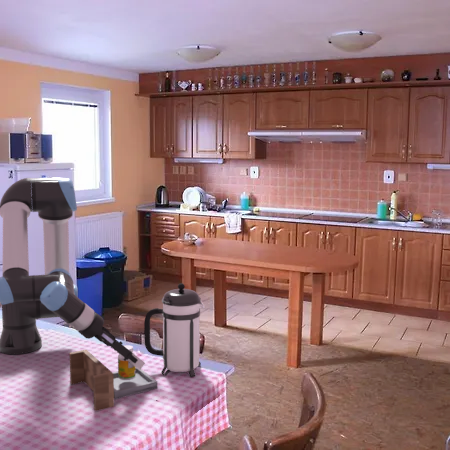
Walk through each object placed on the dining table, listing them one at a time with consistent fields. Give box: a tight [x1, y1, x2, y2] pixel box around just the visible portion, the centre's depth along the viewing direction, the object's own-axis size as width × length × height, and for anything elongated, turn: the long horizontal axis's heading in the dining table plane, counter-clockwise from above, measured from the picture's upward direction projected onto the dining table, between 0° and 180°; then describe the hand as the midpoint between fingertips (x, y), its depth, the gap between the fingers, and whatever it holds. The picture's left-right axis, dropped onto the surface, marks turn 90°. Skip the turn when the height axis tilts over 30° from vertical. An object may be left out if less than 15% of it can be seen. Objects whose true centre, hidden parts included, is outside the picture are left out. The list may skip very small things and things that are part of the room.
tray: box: [112, 368, 158, 400], centre depth 175 cm, size 14×14×2 cm
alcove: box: [69, 349, 115, 412], centre depth 168 cm, size 22×6×10 cm, turn 33°
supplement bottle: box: [117, 344, 136, 380], centre depth 174 cm, size 5×5×10 cm
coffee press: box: [143, 282, 206, 378], centre depth 185 cm, size 17×16×30 cm
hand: (137, 363), depth 176 cm, fingers closed on supplement bottle, 5 cm apart
